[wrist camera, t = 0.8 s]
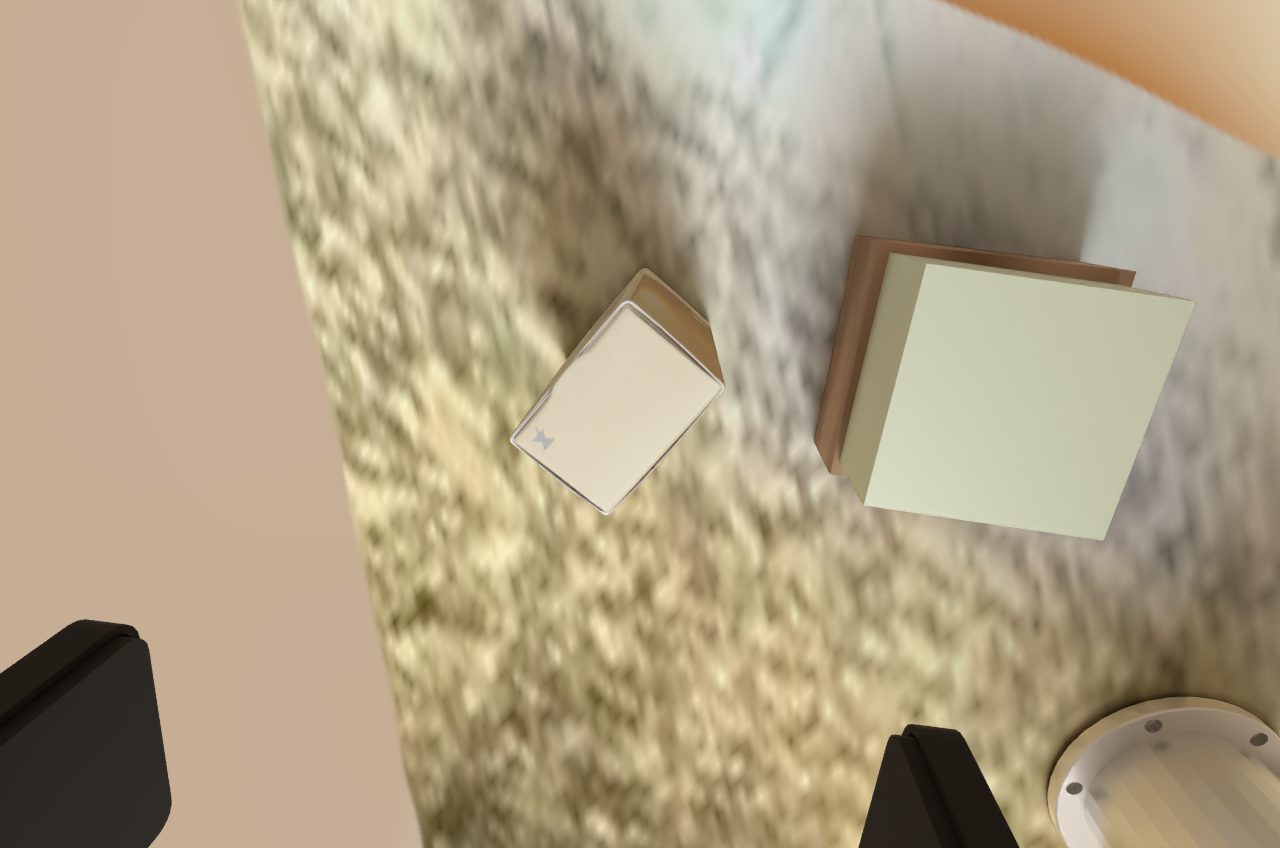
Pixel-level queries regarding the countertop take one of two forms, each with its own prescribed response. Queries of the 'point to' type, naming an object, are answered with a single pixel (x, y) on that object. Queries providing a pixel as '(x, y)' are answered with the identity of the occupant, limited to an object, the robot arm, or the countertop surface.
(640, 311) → the skincare box
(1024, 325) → the tower top
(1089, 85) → the countertop surface
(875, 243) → the tower bottom
